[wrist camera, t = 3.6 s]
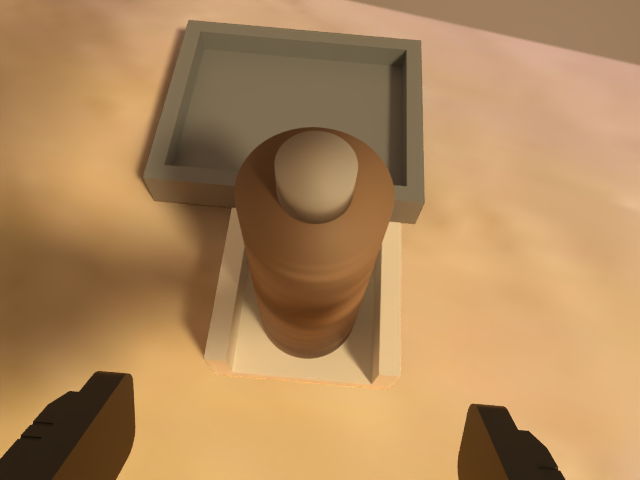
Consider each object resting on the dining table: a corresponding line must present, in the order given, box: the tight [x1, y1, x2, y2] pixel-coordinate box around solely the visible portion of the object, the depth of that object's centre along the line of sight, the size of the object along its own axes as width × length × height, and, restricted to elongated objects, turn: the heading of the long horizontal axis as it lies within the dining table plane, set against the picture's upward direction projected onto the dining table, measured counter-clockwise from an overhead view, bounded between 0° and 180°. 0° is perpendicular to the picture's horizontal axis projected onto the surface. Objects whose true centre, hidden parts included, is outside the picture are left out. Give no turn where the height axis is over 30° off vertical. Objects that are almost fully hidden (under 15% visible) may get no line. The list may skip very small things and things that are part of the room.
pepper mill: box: [234, 127, 395, 359], centre depth 20 cm, size 5×5×13 cm
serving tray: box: [143, 20, 425, 224], centre depth 32 cm, size 16×13×2 cm
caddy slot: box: [204, 208, 401, 390], centre depth 25 cm, size 9×8×4 cm
